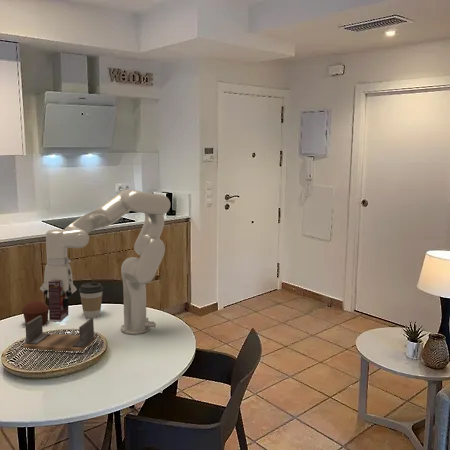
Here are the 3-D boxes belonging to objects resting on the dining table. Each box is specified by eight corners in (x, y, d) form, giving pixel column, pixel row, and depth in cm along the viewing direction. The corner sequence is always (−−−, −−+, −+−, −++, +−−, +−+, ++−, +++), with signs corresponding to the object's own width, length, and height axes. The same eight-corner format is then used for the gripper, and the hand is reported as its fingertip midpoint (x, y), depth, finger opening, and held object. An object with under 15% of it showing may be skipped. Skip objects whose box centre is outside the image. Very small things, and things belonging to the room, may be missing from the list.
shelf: (96, 341, 191) (95, 317, 190) (82, 354, 179) (81, 328, 177) (41, 337, 195) (40, 314, 194) (23, 350, 182) (22, 325, 181)
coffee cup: (109, 314, 224) (108, 284, 222) (91, 321, 215) (90, 289, 213) (92, 310, 230) (91, 280, 228) (74, 317, 221) (73, 285, 219)
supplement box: (61, 322, 181) (60, 281, 179) (48, 322, 181) (47, 281, 179) (69, 315, 189) (68, 276, 187) (57, 314, 190) (56, 276, 187)
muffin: (55, 321, 214) (54, 300, 213) (36, 329, 204) (35, 307, 203) (36, 318, 219) (35, 297, 218) (16, 325, 209) (15, 303, 208)
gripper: (82, 260, 185) (83, 305, 187) (41, 258, 187) (43, 303, 189) (73, 264, 177) (75, 311, 180) (31, 262, 180) (33, 309, 182)
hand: (59, 306), depth 185 cm, fingers closed on supplement box, 5 cm apart
